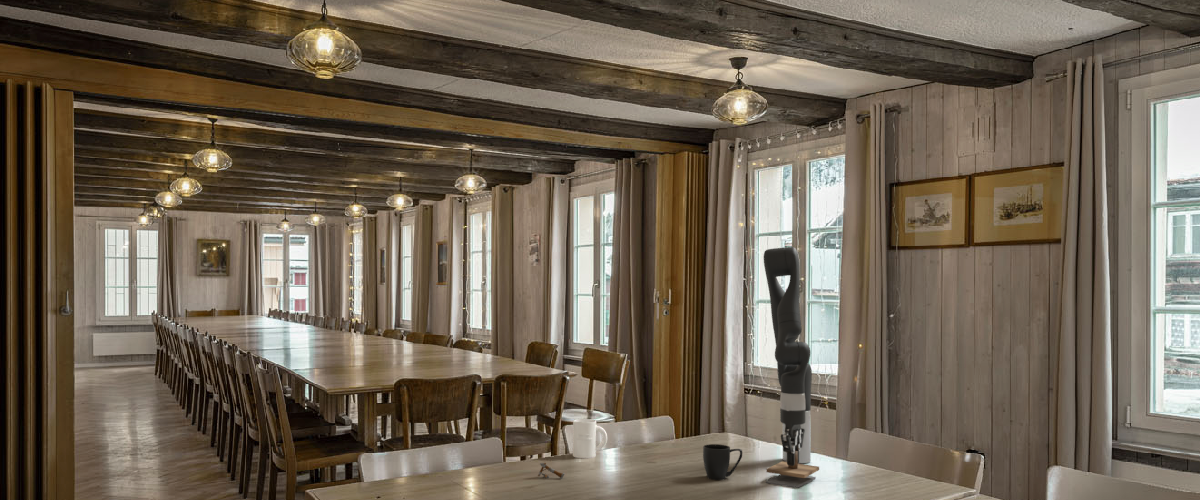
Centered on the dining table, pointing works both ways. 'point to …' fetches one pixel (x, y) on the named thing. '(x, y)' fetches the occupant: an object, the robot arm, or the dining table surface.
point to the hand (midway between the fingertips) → (793, 463)
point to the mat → (790, 480)
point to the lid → (793, 469)
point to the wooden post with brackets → (550, 471)
